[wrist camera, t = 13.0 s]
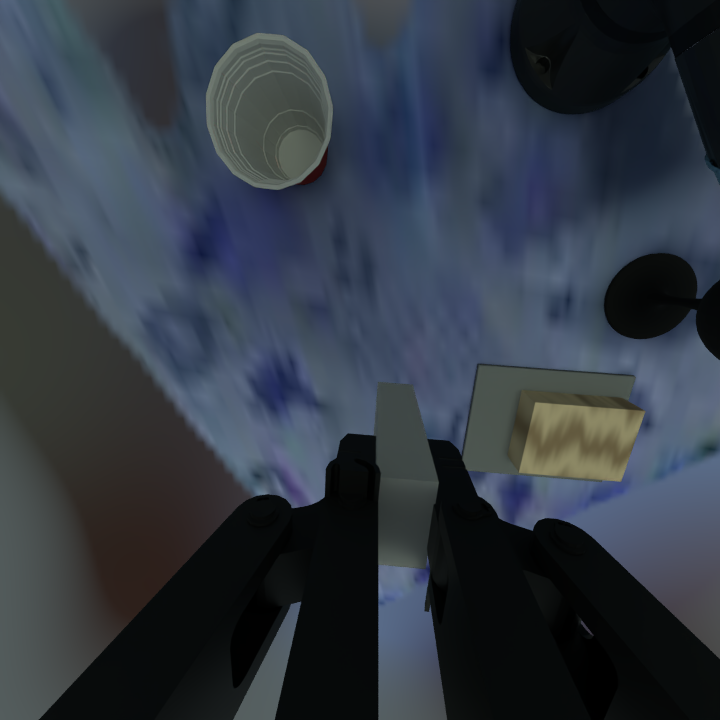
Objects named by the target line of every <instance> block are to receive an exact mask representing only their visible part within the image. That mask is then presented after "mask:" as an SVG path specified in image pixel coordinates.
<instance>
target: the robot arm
mask: <svg viewBox="0 0 720 720" xmlns="http://www.w3.org/2000/svg"><path fill="white" fill-rule="evenodd" d="M706 36H707V37H706ZM703 38H704V39H703ZM700 40H701V41H700ZM697 42H698V43H697ZM510 43H511V54H512V60H513V64H514V68H515V71H516V74H517V76H518V78H519V80H520V82H521V84H522V86H523V87H524V89H525V90H526V91H527V93H528V94H529V95H530V96H531V97H532V98H533V99H534V100H535V101H536V102H538V103H539V104H541V105H542V106H544V107H546V108H548V109H550V110H553V111H556V112H559V113H565V114H581V113H587V112H591V111H594V110H597V109H600V108H602V107H604V106H607V105H609V104H610V103H612V102H614V101H615V100H617V99H618V98H620V97H621V96H623V95H624V94H626V93H627V92H629V91H630V90H632V89H633V88H634V87H636V86H637V85H638V84H639V83H640V82H642V81H643V80H644V79H645V78H646V77H647V76H648V75H649V74H650V73H651V72H652V71H653V70H654V69H655V68H656V66H657V65H658V64H659V63H660V61H661V60H662V59H663V57H664V56H665V55H666V53H667V52H668V51H669V49H670V48H672V50H673V53H674V56H675V61H676V64H677V67H678V70H679V73H680V76H681V79H682V82H683V85H684V88H685V91H686V94H687V97H688V100H689V103H690V106H691V109H692V112H693V115H694V118H695V121H696V124H697V127H698V130H699V133H700V136H701V139H702V142H703V145H704V148H705V151H706V156H705V161H706V165H707V166H708V167H709V169H711V170H712V171H713V172H714V173H715V175H716V177H717V180H718V182H719V184H720V0H517V3H516V6H515V10H514V14H513V19H512V25H511V40H510ZM694 44H695V45H694ZM691 46H692V47H691ZM687 49H688V50H687ZM684 51H685V52H684ZM427 556H428V559H429V565H430V575H429V581H428V587H427V594H426V600H425V611H427V612H429V608H430V605H431V612H432V619H433V626H434V632H435V639H436V646H437V652H438V660H439V667H440V674H441V680H442V687H443V694H444V701H445V707H446V715H447V720H720V659H719V658H718V657H717V656H716V655H715V654H714V653H713V652H712V651H710V649H709V648H708V647H707V646H706V645H704V644H703V643H702V642H701V641H700V640H699V639H698V638H697V637H696V636H695V635H694V634H693V633H692V632H691V631H690V630H689V629H687V627H686V626H684V624H682V623H681V622H680V621H679V620H678V619H677V618H676V617H675V616H674V615H673V614H672V613H671V612H670V611H669V610H668V609H667V608H666V607H665V606H663V605H662V603H660V602H659V601H658V600H657V599H656V598H655V597H654V596H653V595H652V594H651V593H650V592H649V591H648V590H647V589H646V588H645V587H644V586H643V585H642V584H640V583H639V582H638V581H637V580H636V579H635V578H634V577H633V576H632V575H631V574H630V573H629V572H628V571H627V570H626V569H625V568H624V567H623V566H622V565H621V564H620V563H619V562H618V561H616V560H615V559H614V558H613V557H612V556H611V555H610V554H609V553H608V552H607V551H606V550H605V549H604V548H603V547H602V546H601V545H600V544H599V543H598V542H597V541H596V540H595V539H593V538H592V537H591V536H590V535H589V534H587V533H586V532H585V531H583V530H582V529H580V528H578V527H577V526H575V525H573V524H571V523H569V522H565V521H562V520H559V519H551V518H545V519H542V520H539V521H538V522H537V523H536V524H535V526H534V529H533V531H531V530H528V529H525V528H522V527H519V526H516V525H513V524H510V523H508V522H505V521H503V520H501V519H499V518H498V515H497V513H496V512H495V510H494V509H493V507H492V506H491V505H490V504H489V503H488V502H487V501H485V500H484V499H483V498H481V497H479V496H478V495H477V493H476V490H475V488H474V485H473V483H472V481H471V478H470V476H469V474H468V471H467V469H466V466H465V464H464V462H463V461H462V457H461V454H460V452H459V450H458V449H457V448H456V447H455V446H454V445H453V444H452V443H451V442H450V441H445V440H433V439H427V436H426V433H425V429H424V425H423V422H422V418H421V414H420V410H419V407H418V403H417V399H416V395H415V392H414V388H413V385H409V384H396V383H383V382H378V388H377V401H376V413H375V425H374V436H372V435H360V434H347V435H346V436H345V437H344V438H343V439H342V440H341V441H340V445H339V450H338V454H337V458H336V459H334V460H333V461H331V462H330V463H329V464H328V466H327V468H326V481H325V497H324V498H323V499H322V500H320V501H319V502H317V503H314V504H312V505H308V506H304V507H299V508H291V505H290V504H289V502H288V501H287V500H286V499H284V498H282V497H280V496H277V495H269V494H267V495H260V496H255V497H253V498H251V499H248V500H246V501H245V502H243V503H242V504H241V505H240V506H238V507H237V508H236V509H235V511H234V512H233V513H232V514H231V515H230V516H229V517H228V518H227V519H226V520H225V521H224V522H223V523H222V524H221V525H220V527H219V528H218V529H217V530H216V531H215V532H214V533H213V534H212V535H211V536H210V537H209V538H208V539H207V540H206V542H205V543H204V544H203V545H202V546H201V547H200V548H199V549H198V550H197V551H196V552H195V553H194V554H193V555H192V557H191V558H190V559H189V560H188V561H187V562H186V563H185V564H184V565H183V566H182V567H181V568H180V569H179V570H178V572H177V573H176V574H175V575H174V576H173V577H172V578H171V579H170V580H169V581H168V582H167V583H166V585H164V587H163V588H162V589H161V590H160V591H159V592H158V593H157V594H156V595H155V596H154V597H153V598H152V599H151V600H150V602H149V603H148V604H147V605H146V606H145V607H144V608H143V609H142V610H141V611H140V612H139V613H138V614H137V615H136V617H134V619H133V620H132V621H131V622H130V623H129V624H128V625H127V626H126V627H125V628H124V629H123V630H122V631H121V633H120V634H119V635H118V636H117V637H116V638H115V639H114V640H113V641H112V642H111V643H110V644H109V645H108V646H107V648H106V649H105V650H104V651H103V652H102V653H101V654H100V655H99V656H98V657H97V658H96V659H95V660H94V661H93V662H92V663H91V665H90V666H89V667H88V668H87V669H86V670H85V671H84V672H83V673H82V674H81V675H80V676H79V677H78V678H77V680H76V681H75V682H74V683H73V684H72V685H71V686H70V687H69V688H68V689H67V690H66V691H65V692H64V693H63V694H62V696H61V697H60V698H59V699H58V700H57V701H56V702H55V703H54V704H53V705H52V706H51V708H49V710H48V711H47V712H46V713H45V714H44V715H43V716H42V717H41V718H40V719H39V720H233V719H234V716H235V715H236V713H237V711H238V709H239V707H240V705H241V703H242V701H243V699H244V696H245V695H246V693H247V691H248V689H249V687H250V685H251V683H252V681H253V679H254V677H255V675H256V673H257V671H258V669H259V667H260V665H261V664H262V661H263V660H264V658H265V656H266V653H267V652H268V650H269V648H270V646H271V644H272V642H273V640H274V638H275V636H276V634H277V632H278V630H279V628H280V626H281V624H282V622H283V620H284V618H285V616H286V614H287V612H288V610H289V608H290V605H291V604H293V603H297V602H301V606H300V611H299V615H298V619H297V624H296V628H295V632H294V637H293V641H292V647H291V650H290V655H289V659H288V664H287V668H286V672H285V677H284V681H283V686H282V690H281V695H280V700H279V704H278V708H277V712H276V717H275V720H378V565H389V566H399V567H409V568H420V569H426V562H427ZM581 621H583V622H584V623H585V625H586V626H587V627H588V629H589V630H590V631H591V632H592V634H593V635H594V636H592V635H591V634H590V633H588V631H587V630H586V629H585V628H584V627H583V625H582V624H581Z"/></svg>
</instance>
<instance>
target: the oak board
mask: <svg viewBox="0 0 720 720" xmlns="http://www.w3.org/2000/svg"><path fill="white" fill-rule="evenodd" d="M644 413H645V411H644V410H643V409H641V408H639V407H637V406H636V405H634V404H632V403H630V402H629V401H627V400H625V399H623V398H619V397H606V396H593V395H580V394H567V393H554V392H540V391H527V390H522V391H521V396H520V400H519V405H518V410H517V414H516V419H515V423H514V428H513V432H512V437H511V441H510V446H509V451H508V455H507V456H508V457H509V459H510V460H511V462H512V463H513V465H514V466H515V468H516V469H517V471H518V472H519V473H527V474H538V475H550V476H562V477H573V478H585V479H597V480H609V481H620V482H621V480H622V477H623V474H624V471H625V469H626V466H627V463H628V460H629V457H630V454H631V451H632V448H633V445H634V442H635V439H636V437H637V434H638V431H639V428H640V425H641V422H642V419H643V416H644Z"/></svg>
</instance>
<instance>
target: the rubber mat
mask: <svg viewBox="0 0 720 720" xmlns="http://www.w3.org/2000/svg"><path fill="white" fill-rule="evenodd" d="M635 378H636V377H635V376H633V375H622V374H608V373H595V372H581V371H568V370H554V369H541V368H527V367H514V366H501V365H487V364H478V366H477V372H476V378H475V383H474V389H473V395H472V401H471V406H470V412H469V418H468V424H467V429H466V435H465V441H464V447H463V453H462V461H463V462H464V464H465V466H466V469H467V470H468V471H479V472H491V473H503V474H514V475H526V476H538V477H549V478H561V479H573V480H584V481H596V482H602V480H597V479H585V478H573V477H562V476H550V475H538V474H527V473H519V472H518V471H517V469H516V468H515V466H514V465H513V463H512V462H511V460H510V459H509V457H508V456H507V455H508V451H509V446H510V441H511V437H512V432H513V428H514V423H515V419H516V414H517V410H518V405H519V400H520V396H521V391H522V390H527V391H540V392H554V393H567V394H580V395H593V396H606V397H619V398H623V399H625V400H627V401H628V399H629V396H630V393H631V390H632V387H633V384H634V381H635Z"/></svg>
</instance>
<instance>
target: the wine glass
mask: <svg viewBox="0 0 720 720" xmlns="http://www.w3.org/2000/svg"><path fill="white" fill-rule="evenodd" d="M696 293H697V280H696V276H695V273H694V271H693V269H692V268H691V266H690V265H689V264H688V263H687V262H686V261H685V260H683V259H682V258H680V257H678V256H676V255H672V254H666V253H657V254H650V255H646V256H643V257H640V258H637V259H636V260H634V261H632V262H630V263H629V264H628V265H626V266H625V267H624V268H623V269H622V270H621V271H620V272H618V274H617V275H616V276H615V277H614V279H613V280H612V282H611V284H610V285H609V288H608V290H607V293H606V296H605V303H604V308H605V314H606V318H607V320H608V322H609V324H610V325H611V327H612V328H613V329H614V330H615V331H617V332H618V333H620V334H621V335H624V336H626V337H629V338H634V339H648V338H653V337H657V336H659V335H662V334H664V333H666V332H668V331H670V330H671V329H673V328H674V327H676V326H677V325H678V324H679V323H680V322H681V321H682V320H683V319H684V318H685V317H686V315H687V314H688V313H689V311H690V310H691V309H695V310H697V314H696V326H697V331H698V334H699V336H700V339H701V340H702V342H703V343H704V345H705V347H706V348H707V349H708V350H709V351H710V352H711V353H712V354H713V355H714V356H715V357H716V358H718V359H719V360H720V280H719V281H718V282H717V283H715V284H714V285H713V286H712V287H711V288H710V289H709V290H708V291H707V293H706V294H705V295H704V297H703V298H702V299H695V298H696Z"/></svg>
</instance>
